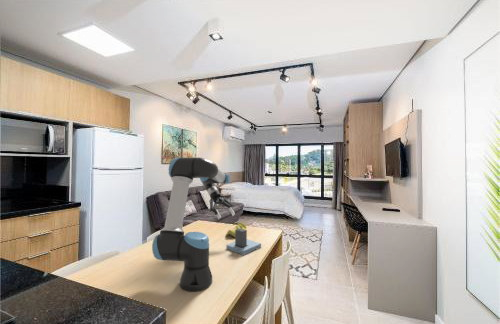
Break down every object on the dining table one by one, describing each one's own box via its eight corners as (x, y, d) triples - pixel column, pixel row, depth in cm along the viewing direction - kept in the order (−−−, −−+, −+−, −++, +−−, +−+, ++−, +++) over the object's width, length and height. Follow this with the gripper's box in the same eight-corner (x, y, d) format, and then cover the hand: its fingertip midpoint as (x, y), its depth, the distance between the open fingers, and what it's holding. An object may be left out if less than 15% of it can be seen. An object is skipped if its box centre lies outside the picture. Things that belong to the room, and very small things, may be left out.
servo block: (242, 251, 144) (242, 230, 144) (235, 248, 148) (235, 228, 149) (246, 249, 147) (246, 228, 148) (239, 247, 152) (239, 226, 152)
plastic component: (238, 235, 169) (228, 228, 172) (234, 243, 171) (224, 236, 174) (248, 227, 187) (239, 221, 190) (245, 234, 189) (235, 228, 192)
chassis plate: (243, 255, 138) (243, 251, 138) (226, 248, 149) (226, 244, 149) (261, 247, 152) (261, 243, 152) (244, 241, 162) (244, 238, 162)
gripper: (224, 195, 177) (236, 216, 167) (198, 198, 158) (210, 222, 148) (228, 189, 174) (242, 210, 163) (202, 191, 155) (215, 216, 145)
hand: (227, 216), depth 156 cm, fingers open, 13 cm apart
